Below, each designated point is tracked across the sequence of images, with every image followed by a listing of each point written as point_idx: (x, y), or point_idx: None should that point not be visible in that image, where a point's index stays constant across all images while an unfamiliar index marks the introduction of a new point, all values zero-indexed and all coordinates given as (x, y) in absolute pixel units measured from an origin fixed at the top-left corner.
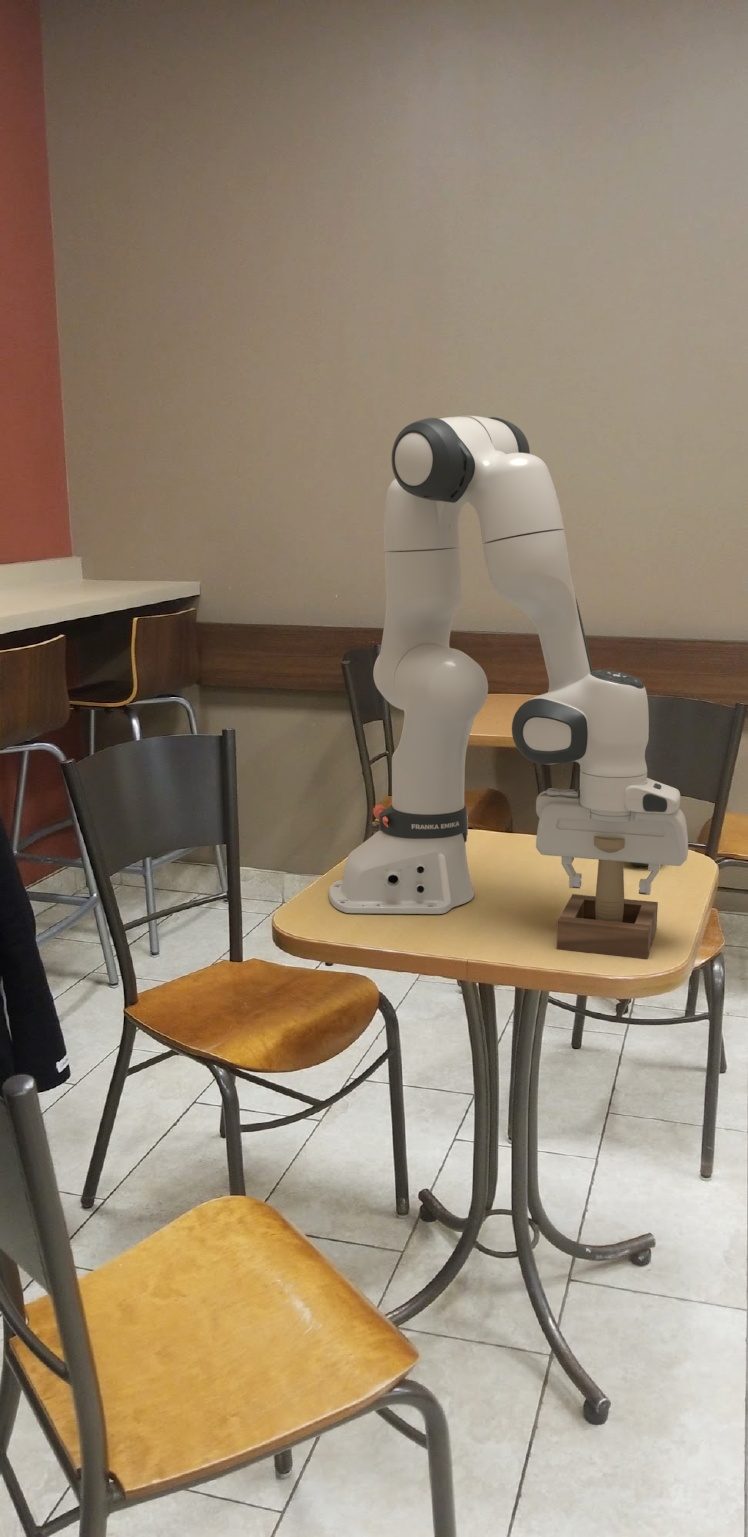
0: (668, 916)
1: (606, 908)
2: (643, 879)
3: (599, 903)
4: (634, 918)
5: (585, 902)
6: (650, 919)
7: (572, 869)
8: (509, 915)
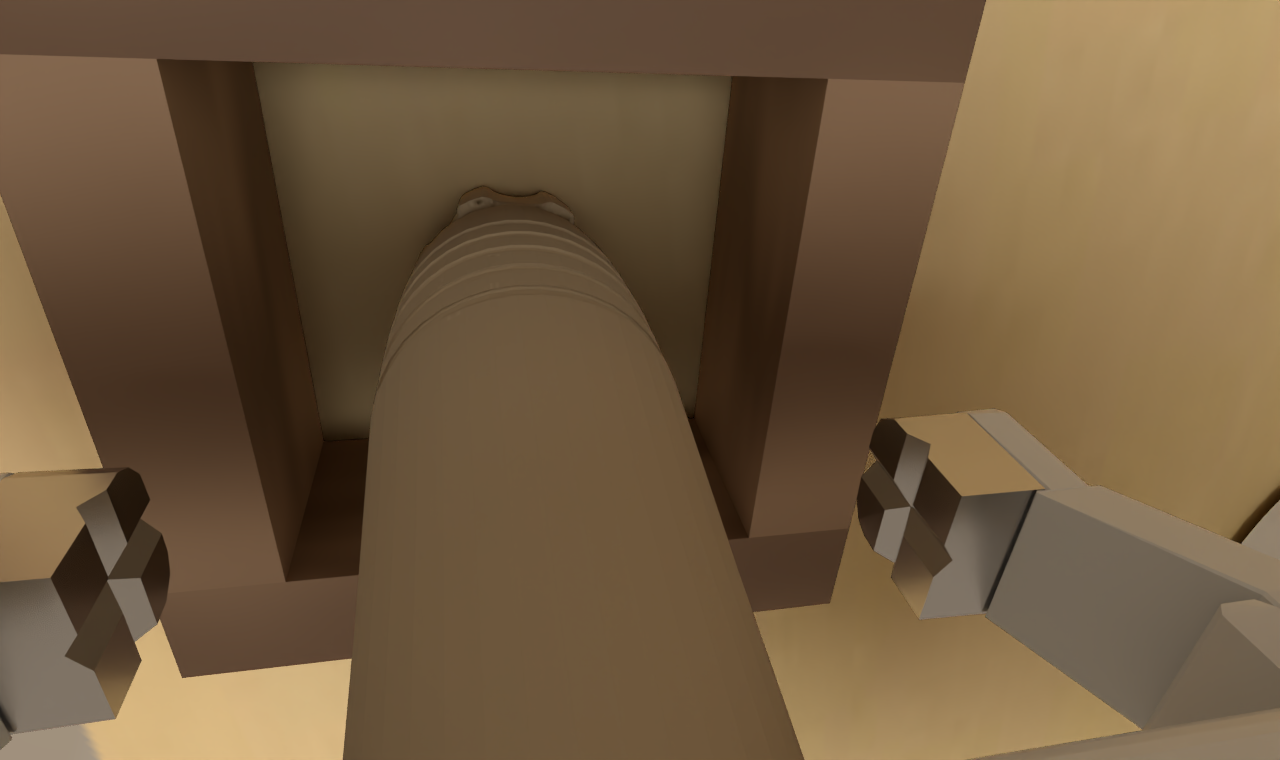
0: (244, 707)
1: (535, 263)
2: (55, 707)
3: (621, 306)
4: (359, 497)
5: (732, 525)
6: (43, 256)
7: (1076, 609)
8: (1087, 441)
